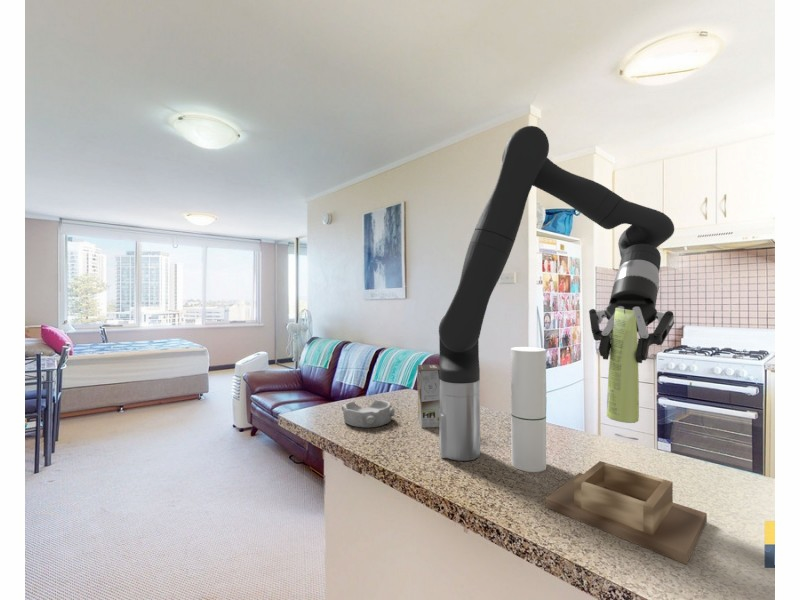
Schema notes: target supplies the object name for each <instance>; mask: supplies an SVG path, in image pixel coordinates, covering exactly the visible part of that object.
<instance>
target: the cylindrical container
mask: <svg viewBox="0 0 800 600" xmlns="http://www.w3.org/2000/svg"><path fill="white" fill-rule="evenodd" d="M546 353H547V350H546V349H545V348H543V347H536V346H535V347H533V346H514V347H510V418H511V419H510V420H511V421H510V422H511V423H510V431H511V432H510V435H511V437H510V438H511V439H510V440H511V450H510V451H511V456H510V457H511V465H512V467H514V468H515V469H517V470H520V471H522V472H528V473H539V472H543V471H545V470H546V469H547V372H546V371H547V363H546V362H547V361H546V360H547V356H546V355H547V354H546Z"/></svg>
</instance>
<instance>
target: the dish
mask: <svg viewBox="0 0 800 600" xmlns="http://www.w3.org/2000/svg"><path fill="white" fill-rule="evenodd" d="M341 410H342V413H343V414H342V415H343V420H344V422H345V423H346V424H347V425H349V426H353V427H356V428H358V427H359V428H376V427H380V426H384V425H387V424H389V423H390V422H391V421H392V418H393V417H394V416H395V409H394V407H392V405H391V403H390V402H389V401H386V400H384V399H383V400H382V399H374V401H373V402H372V403H371V404H370V405H369V406H367V407H361V406H359V405H358V404H357V403H355V401H349V402H346V403H344V404H342V405H341Z"/></svg>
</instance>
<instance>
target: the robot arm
mask: <svg viewBox="0 0 800 600" xmlns="http://www.w3.org/2000/svg"><path fill="white" fill-rule="evenodd" d="M549 152H550V143H549V139H548V136H547V134H546V133H545V131H544V130H543V129H541V128H540V127H538V126H535V125H526V126H523V127H521V128H519V129H518V130H516V131H515V132H513V134H511V136H510V137H509V138H508V140H507V142H506V144H505V146H504V150H503V152H502V157H501V161H502V164H501V167H500V171H499V174H498V178H497V180H496V181H497V182H496V184H495V185H494V188H493V191H492V192H491V194H490V196H489V198H488V200H487V202H486V204H485V206H484V208H483V210H482V212H481V214H480V216H479V219H478V222H477V224H476V226H475V228H474V230H473V233H472V236H471V238H470V241H469V243H468V248H467V250H466V254H465V257H464V261H463V265H462V270H461V274H460V280H459V283H458V287H457V290H456V291H455V294H454V297H453V298H452V300H451V302H450V305H449V306H448V309H447V311H446V312H445V314H444V316H443V317H442V319H441V320H440V321H439V325H438V336H439V337H438V340H439V344H438V345H439V346H438V347H439V358H438V359H439V361H438V363H439V365H438V366H439V378H440V409H439V427H438V430H439V431H438V433H439V434H438V437H439V438H438V440H439V441H438V442H439V447H438V448H439V452H440V458H441V459H448V460H452V461H458V462H459V461H460V462H464V461H472V460H473V461H474V460H475V459H478V458H479V457H480V456H481V393H480V392H481V382H480V380H481V379H480V378H481V375H480V374H481V368H480V357H479V352H480V350H479V339H480V335H481V331H482V327H483V324H484V323H483V322H484V319H485V315H486V311H487V308H488V305H489V301H490V299H491V296H492V294H493V291H494V290H495V288H496V286H497V283H498V281H499V279H500V277H501V275H502V273H503V271H504V269H505V267H506V264H507V262H508V259H509V258H510V255H511V252H512V250H513V248H514V247H513V246H514V243H515V242H516V238H517V235H518V232H519V228H520V226H521V223H522V218H523V215H524V211H525V208H526V204H527V200H528V197H529V194H530V192H531V189H532V187H535V188H537V189H540V190H542V192H543V191H544V192H545V193H546V194H548V195H551V196H552V197H553V198H556V199H558V200H560V201H561V202H564V203H565V204H566V205H568V206H570V207H571V208H573V209H574V210H576V211H577V212H578V213H581V214H582V215H583V216H585V217H586V218H588V219H589V220H591V221H592V222H593V223H595V224H597V225H598V226H600V227H601V228H603V229H605V230H613V229H614V228H617V227H618V226H620V225H624V224H625V225H630V226H629V227H628V228H626V229H625V230H624V231H623V232H622V233H621V235H620V237H619V239H618V243H617V244H618V251H619V255H620V263H619V267H618V270H617V272H616V274H615V278H614V281H613V286H612V290H611V294H610V297H609V298H610V299H609V303H608V305H607V306H606V307H605V309H604V310H599V311H597V309H594V308H591V309H590V310H589V311H588V313H589V322H590V330H591V333H592V337H593V340H594V341H599V345H598V351H599V355H600V357H602V359H603V360H609V358H610V349H611V338H612V330H613V326H614V316H615V308H619V309H626V310H635V317H636V327H637V335H638V337H639V338H637V351H636V360H637V363H638V364H643V361H647V359H648V355H649V349H650V346H652V345H657V346H661V345H663V344H664V343H665V340H666V338H667V336H668V335H669V333H670V331H671V330H672V328H673V326H674V325H675V318H674V316H675V315H674V312H673V311H671V310H667V311H665V312H664V313H663V312H659V311H658V310H657V308H656V306H657V299H658V293H659V291H660V268H661V264H662V263H661V262H662V261H661V259H662V258H661V252H660V251H659V249H658V247H660V246H661V245H662V244H663V243H665V242H667V241H668V240H669V239H670V238H671V237H672V236H673V234H674V232H675V224H674V223H673V220H672V219H671V218H670V217H669V216H668V215H666V214H665V213H664V212H661V211H659V210H657V209H654V208H650V207H646V206H644V205H641V204H638V203H635V202H632V201H629V200H627V199H625V198H623V197H621V196H620V195H618V194H617V193H616V192H614V191H612V189H609V188H608V187H607V186H605V185H602V184H601V183H599V182H596V181H594V180H592V179H589V178H586V177H584V176H580V175H578V174H575V173H572V172H570V171H567V170H566V169H564V168H562V167H560V166H558V165H557V164H555V162H553V161H552V160H551V159H550V158H549V157H548V156H549ZM604 318H606V319H607V323H606V326H605V327H604V329H603V330H601V329H600V324H601V323H602V322H603V320H604ZM656 320H657V326H656V328H655V330H654V331H653V332H652V333H649V331H648V328H647V326H649V325H650V324H652V323H653V322H654V321H656Z"/></svg>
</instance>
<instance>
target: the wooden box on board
mask: <svg viewBox="0 0 800 600" xmlns="http://www.w3.org/2000/svg"><path fill="white" fill-rule="evenodd" d="M673 485H674V483H673V481H670V480H667V479H663V478H660V477H657V476H653V475H649V474H647V473H643V472H639V471H635V470H633V469H628V468H626V467H622V466H619V465H616V464H615V465H614V464H611V463H608V462H605V461H600V460H599V461H598V462H597V463H595V464H594V465H593V466H591V468H589V469H588V470H586V472H584V473H582V472H578V473H577V474H576V475H575V476H573V477H572V478H571V479H569V480H568V481H567V482H565V483H564V484H562V485H561V486H560V487H559V488H557V489H556V490H555V491H554V492H552V493H551V494H549V495H548V496H547V497H546V498H545V508H547V509H549V510H552V511H554V512H557V513H559V514H560V515H561V514H562V515H564V516H566V517H569V518H572V519H574V520H577V521H578V522H582V523H584V524H587V525H588V526H591V527H594V528H597V529H598V530H601V531H603V532H606V533H608V534H611V535H613V536H616V537H619V538H620V539H623V540H625V541H628V542H630V543H633V544H636V545H638V546H641V547H643V548H646V549H648V550H650V551H652V552H655V553H658V554H659V555H662V556H665V557H666V558H669V559H672V560H675V561H678V562H679V563H682V564H684V565H687V564H688V562H689V561H690V559H691V556H692V554H693V552H694V550H695V548H696V546H697V544H698V541H699V539H700V538H701V535H702V533H703V531H704V529H705V527H706V526H707V525H706V524H707V520H708V519H707V518H708V515H707V512H704V511H701V510H699V509H698V510H697V509H696V508H692V507H689V506H685V505H682V504H679V503H676V502H674V501H673V495H674V494H673V493H674V492H673V490H674V489H673V487H674V486H673Z"/></svg>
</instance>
